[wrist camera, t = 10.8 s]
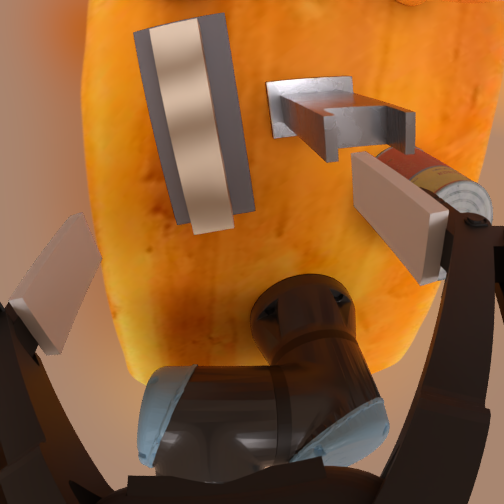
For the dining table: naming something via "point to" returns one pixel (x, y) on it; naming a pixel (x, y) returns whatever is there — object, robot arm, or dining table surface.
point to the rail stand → (336, 116)
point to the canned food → (440, 183)
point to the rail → (192, 124)
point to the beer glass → (416, 0)
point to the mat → (224, 111)
